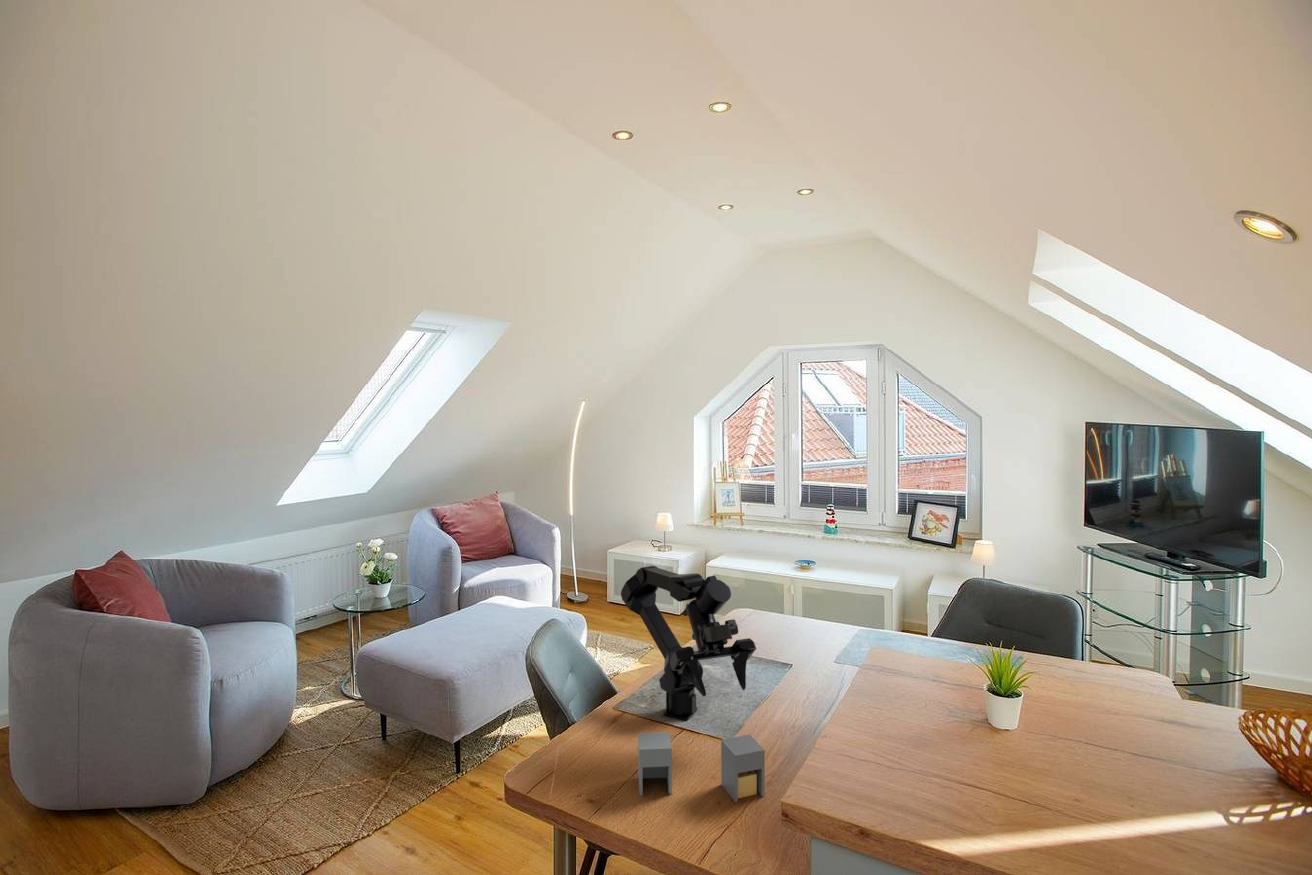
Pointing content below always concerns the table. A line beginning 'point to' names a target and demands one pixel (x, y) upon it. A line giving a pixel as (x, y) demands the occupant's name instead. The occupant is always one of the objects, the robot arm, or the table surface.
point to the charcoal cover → (741, 763)
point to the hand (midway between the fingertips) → (724, 692)
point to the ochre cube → (747, 784)
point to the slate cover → (654, 758)
